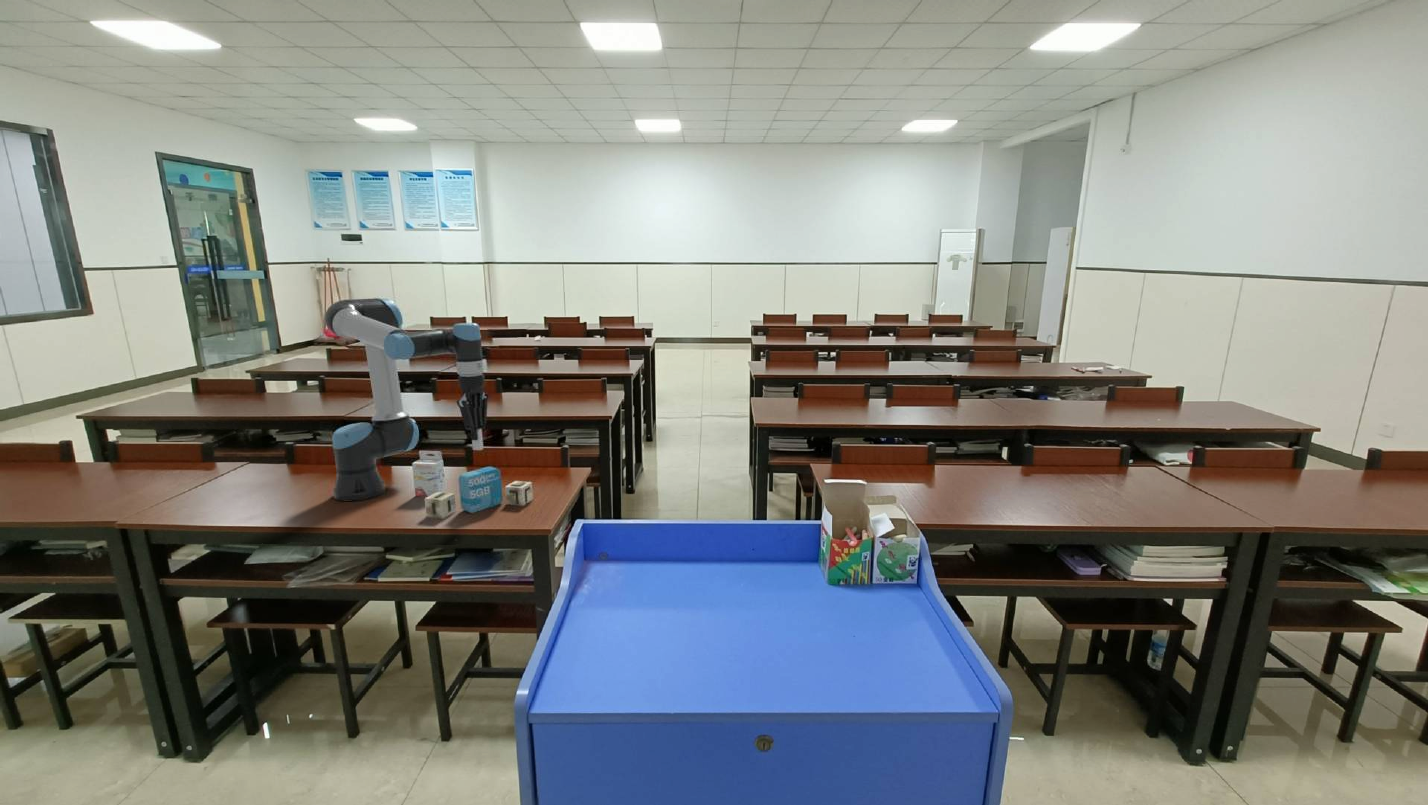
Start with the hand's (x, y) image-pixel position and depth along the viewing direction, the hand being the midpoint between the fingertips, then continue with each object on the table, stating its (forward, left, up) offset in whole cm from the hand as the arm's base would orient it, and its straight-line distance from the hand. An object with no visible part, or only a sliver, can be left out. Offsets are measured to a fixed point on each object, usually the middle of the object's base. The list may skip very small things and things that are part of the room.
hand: (478, 449), depth 193 cm
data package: (0, 0, -19) cm, 19 cm away
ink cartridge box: (-24, +6, -19) cm, 32 cm away
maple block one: (-9, -8, -19) cm, 23 cm away
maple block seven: (+9, +7, -19) cm, 22 cm away
